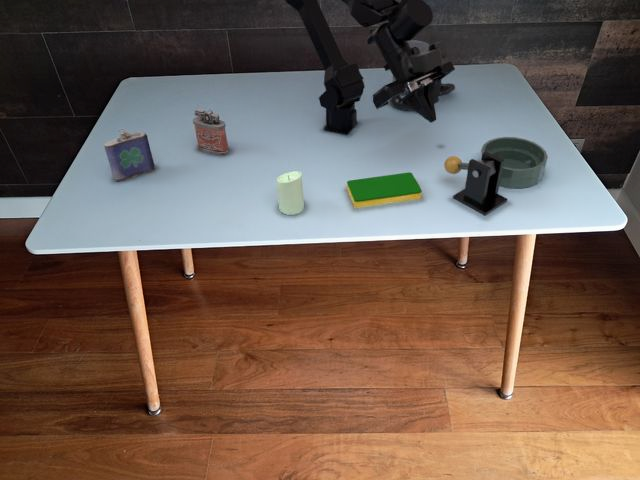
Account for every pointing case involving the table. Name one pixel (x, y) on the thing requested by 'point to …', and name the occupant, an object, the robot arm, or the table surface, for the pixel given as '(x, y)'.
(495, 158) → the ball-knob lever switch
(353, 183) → the dish sponge
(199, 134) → the lighter
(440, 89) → the milk frother
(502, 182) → the basin
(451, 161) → the tap lever
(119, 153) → the flask
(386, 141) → the table surface
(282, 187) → the candle
